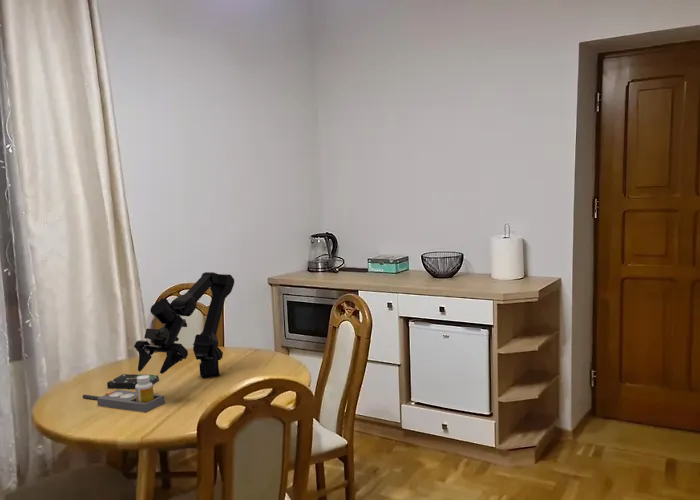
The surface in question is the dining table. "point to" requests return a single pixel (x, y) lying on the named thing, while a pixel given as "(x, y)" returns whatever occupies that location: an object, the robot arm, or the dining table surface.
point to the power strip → (126, 401)
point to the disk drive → (128, 381)
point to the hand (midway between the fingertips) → (149, 372)
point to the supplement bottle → (144, 389)
